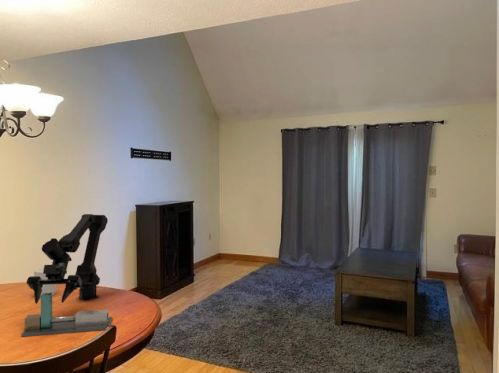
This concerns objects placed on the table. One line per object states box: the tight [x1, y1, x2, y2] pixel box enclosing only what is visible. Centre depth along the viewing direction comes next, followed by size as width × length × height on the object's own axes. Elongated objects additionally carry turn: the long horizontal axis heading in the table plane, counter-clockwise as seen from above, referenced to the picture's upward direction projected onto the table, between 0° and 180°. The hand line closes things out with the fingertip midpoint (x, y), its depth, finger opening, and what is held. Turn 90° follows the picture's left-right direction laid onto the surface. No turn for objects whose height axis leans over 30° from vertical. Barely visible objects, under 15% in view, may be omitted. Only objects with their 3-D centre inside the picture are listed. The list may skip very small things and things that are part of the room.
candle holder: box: [33, 266, 58, 298], centre depth 177 cm, size 10×10×12 cm
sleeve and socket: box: [20, 308, 113, 337], centre depth 139 cm, size 29×10×5 cm, turn 102°
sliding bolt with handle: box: [40, 293, 75, 328], centre depth 138 cm, size 18×3×12 cm, turn 102°
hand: (49, 302), depth 140 cm, fingers open, 9 cm apart
